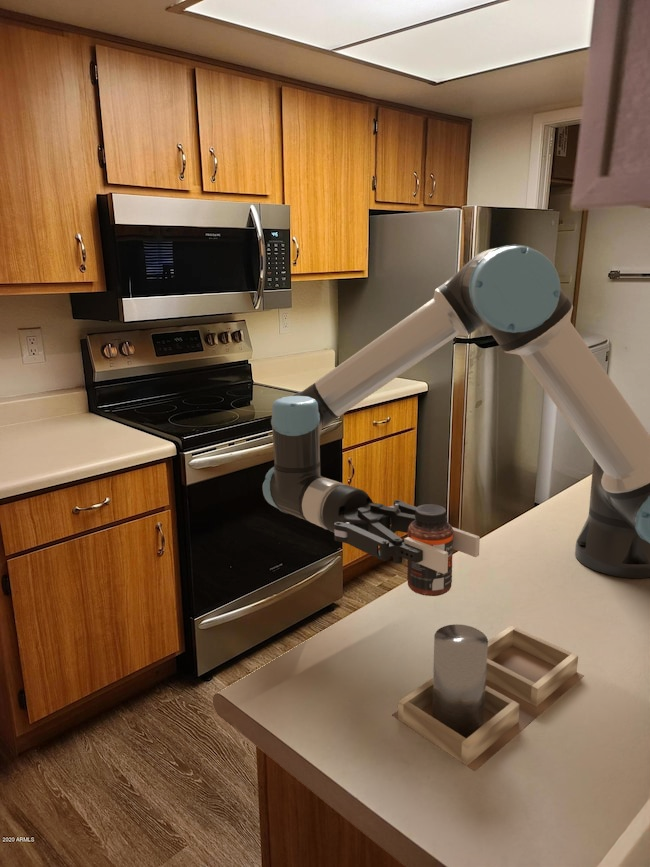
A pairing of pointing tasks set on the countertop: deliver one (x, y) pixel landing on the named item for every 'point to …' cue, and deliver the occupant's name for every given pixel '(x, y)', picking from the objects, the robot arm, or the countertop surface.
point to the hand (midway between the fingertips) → (462, 554)
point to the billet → (460, 678)
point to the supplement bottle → (437, 534)
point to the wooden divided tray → (499, 696)
